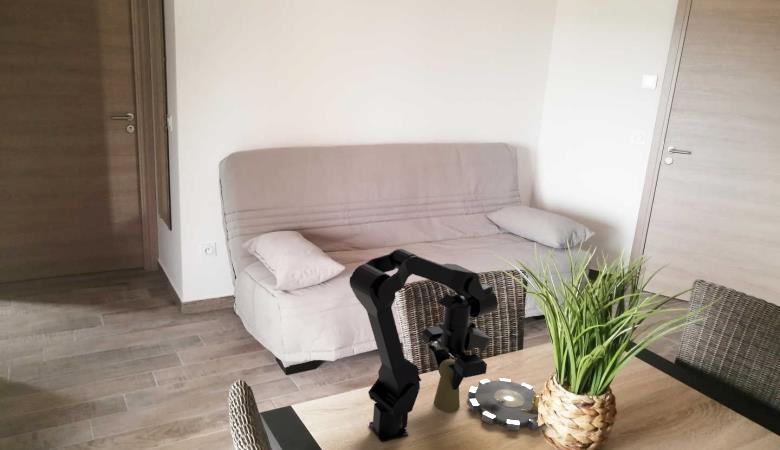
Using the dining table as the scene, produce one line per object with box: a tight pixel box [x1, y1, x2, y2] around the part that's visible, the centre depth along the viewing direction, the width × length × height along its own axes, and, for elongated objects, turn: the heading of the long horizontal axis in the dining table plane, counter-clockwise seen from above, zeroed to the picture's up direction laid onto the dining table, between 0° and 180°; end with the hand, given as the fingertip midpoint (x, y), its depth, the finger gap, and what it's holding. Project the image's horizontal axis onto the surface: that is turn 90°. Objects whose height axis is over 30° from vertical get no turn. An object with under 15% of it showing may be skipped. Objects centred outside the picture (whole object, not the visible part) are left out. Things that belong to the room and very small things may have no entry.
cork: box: [433, 358, 461, 413], centre depth 133 cm, size 6×6×11 cm
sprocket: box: [467, 377, 541, 432], centre depth 134 cm, size 19×18×6 cm
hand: (449, 383), depth 133 cm, fingers closed on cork, 5 cm apart
